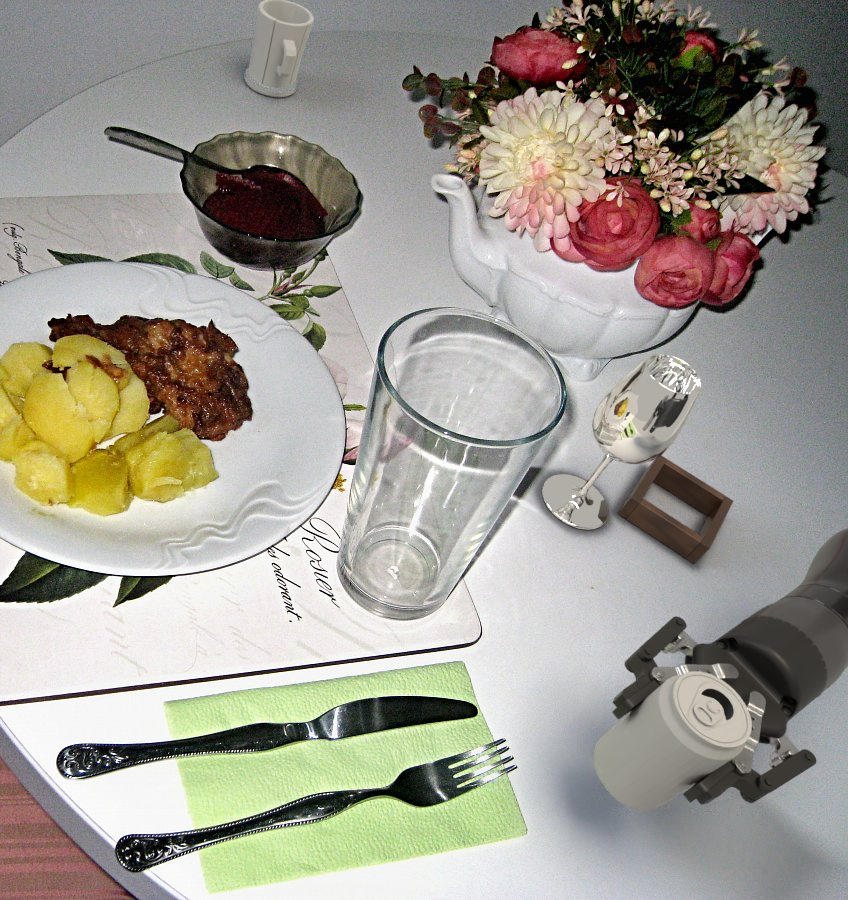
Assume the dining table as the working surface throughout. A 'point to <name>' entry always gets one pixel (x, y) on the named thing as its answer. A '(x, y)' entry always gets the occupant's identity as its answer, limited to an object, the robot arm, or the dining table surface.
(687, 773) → the beverage can
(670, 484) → the frame
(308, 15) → the cup
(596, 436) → the wineglass
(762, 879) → the dining table surface
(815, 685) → the robot arm
